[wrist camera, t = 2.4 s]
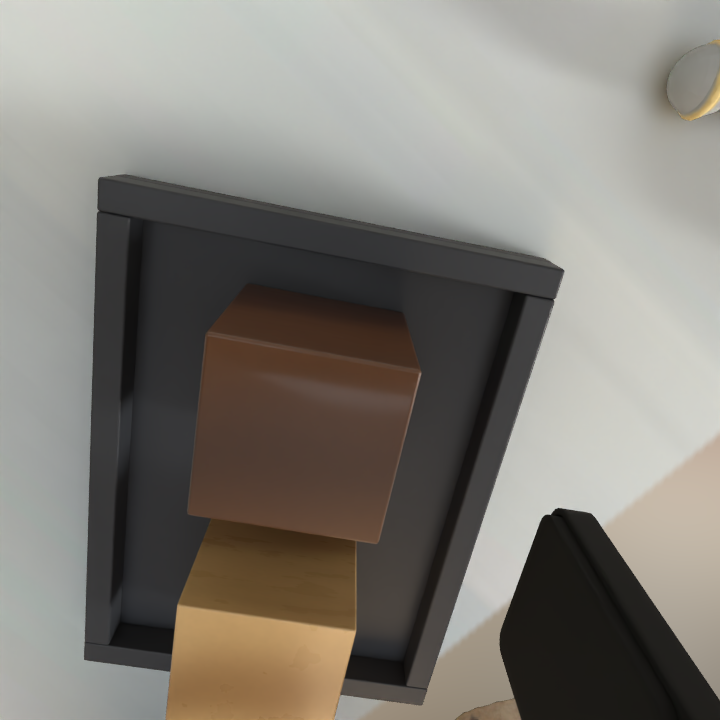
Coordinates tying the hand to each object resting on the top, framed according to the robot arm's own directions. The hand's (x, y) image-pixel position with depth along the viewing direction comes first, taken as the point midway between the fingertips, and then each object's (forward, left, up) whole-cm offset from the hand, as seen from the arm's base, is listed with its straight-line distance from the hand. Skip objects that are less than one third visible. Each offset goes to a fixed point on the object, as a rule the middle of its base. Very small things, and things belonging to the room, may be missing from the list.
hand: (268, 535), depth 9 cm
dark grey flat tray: (+3, 0, -8) cm, 8 cm away
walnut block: (0, 0, -7) cm, 7 cm away
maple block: (+7, 0, -7) cm, 10 cm away
